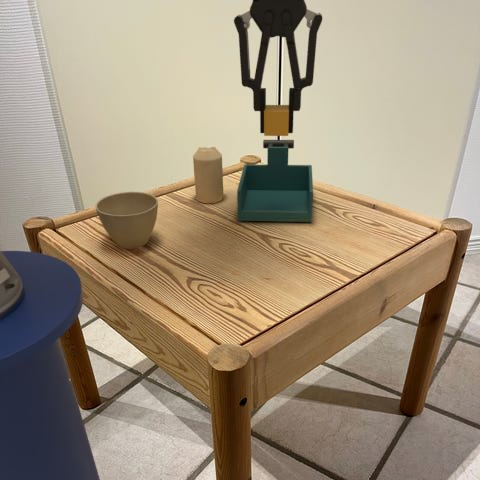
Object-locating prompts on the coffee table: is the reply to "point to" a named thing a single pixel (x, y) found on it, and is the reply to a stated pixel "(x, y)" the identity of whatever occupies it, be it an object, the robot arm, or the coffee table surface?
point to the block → (276, 120)
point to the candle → (208, 175)
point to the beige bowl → (128, 217)
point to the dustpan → (276, 188)
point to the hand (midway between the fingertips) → (276, 130)
